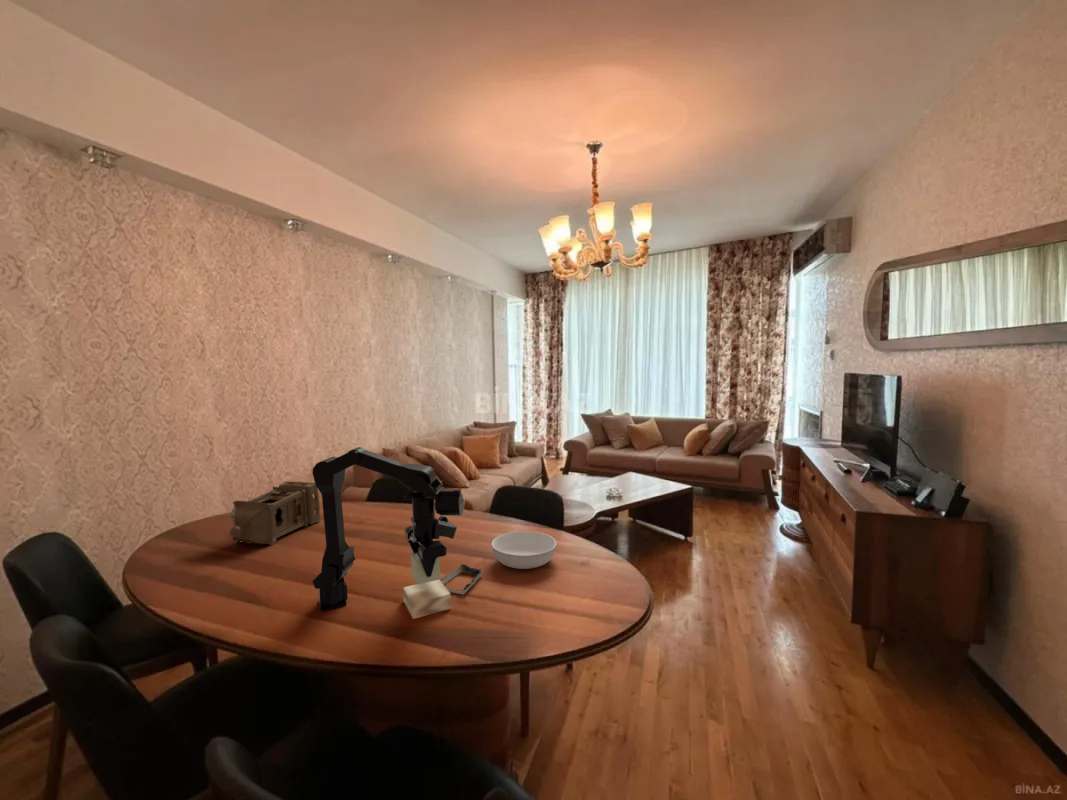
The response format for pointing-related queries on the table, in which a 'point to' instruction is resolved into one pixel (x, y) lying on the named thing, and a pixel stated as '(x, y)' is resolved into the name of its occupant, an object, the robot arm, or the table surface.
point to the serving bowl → (524, 549)
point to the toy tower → (275, 513)
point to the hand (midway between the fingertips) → (425, 571)
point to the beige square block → (426, 598)
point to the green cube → (419, 572)
